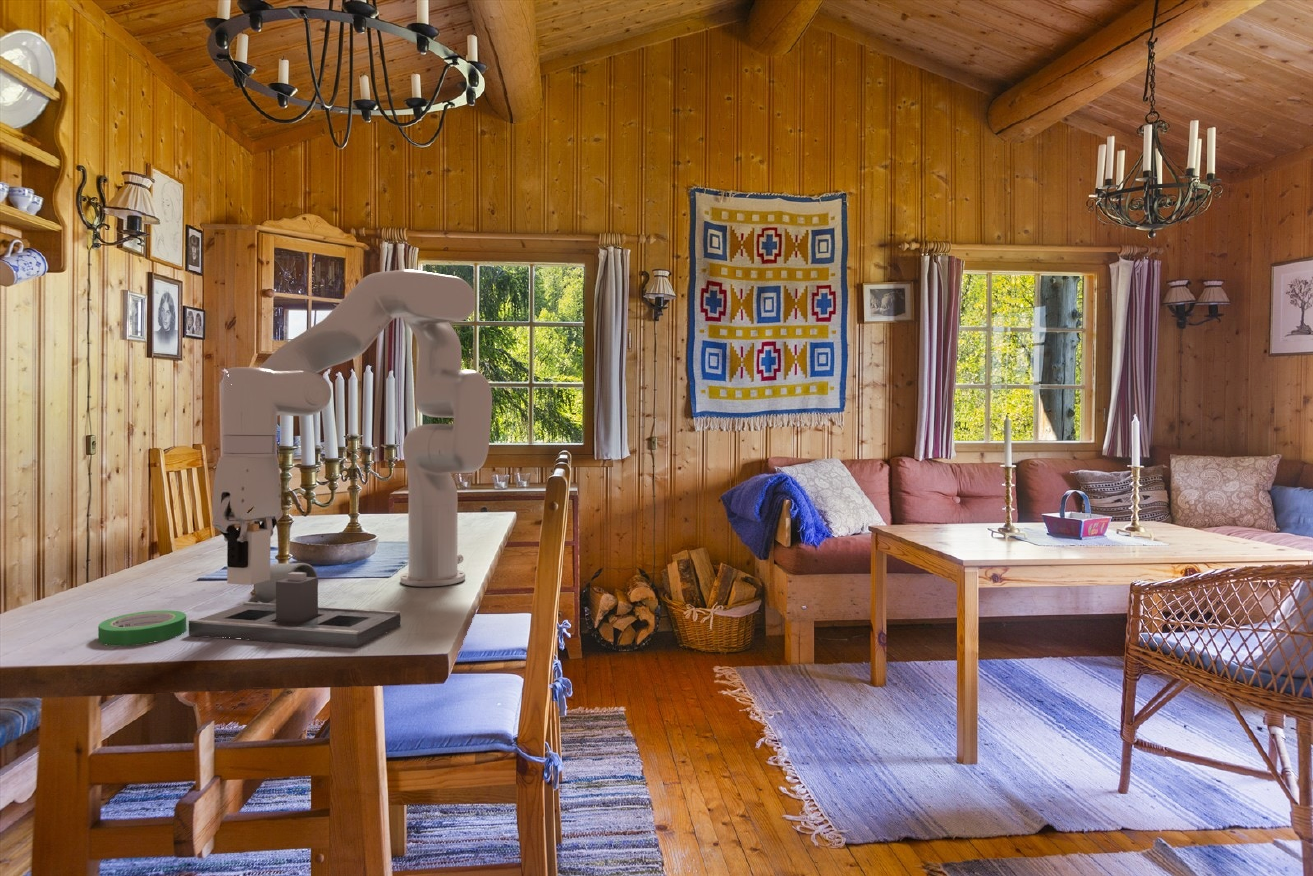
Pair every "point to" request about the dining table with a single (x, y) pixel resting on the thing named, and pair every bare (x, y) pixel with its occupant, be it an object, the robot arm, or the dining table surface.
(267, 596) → the ceramic mug
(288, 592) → the matte charcoal box
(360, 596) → the dining table surface
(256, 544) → the white block orange tab
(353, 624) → the panel
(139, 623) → the tape roll
